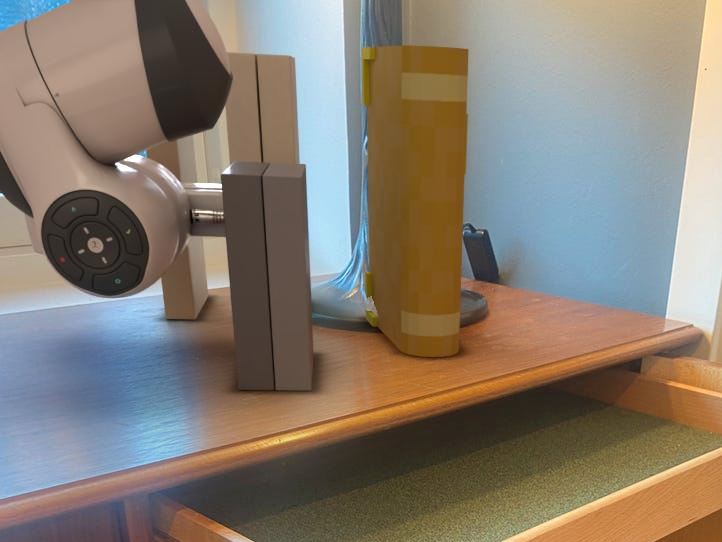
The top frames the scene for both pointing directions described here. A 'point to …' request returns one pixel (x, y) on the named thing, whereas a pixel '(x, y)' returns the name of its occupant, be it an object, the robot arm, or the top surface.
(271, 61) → the cream books
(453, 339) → the book
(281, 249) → the grey books
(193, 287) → the cream book
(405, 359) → the top surface
